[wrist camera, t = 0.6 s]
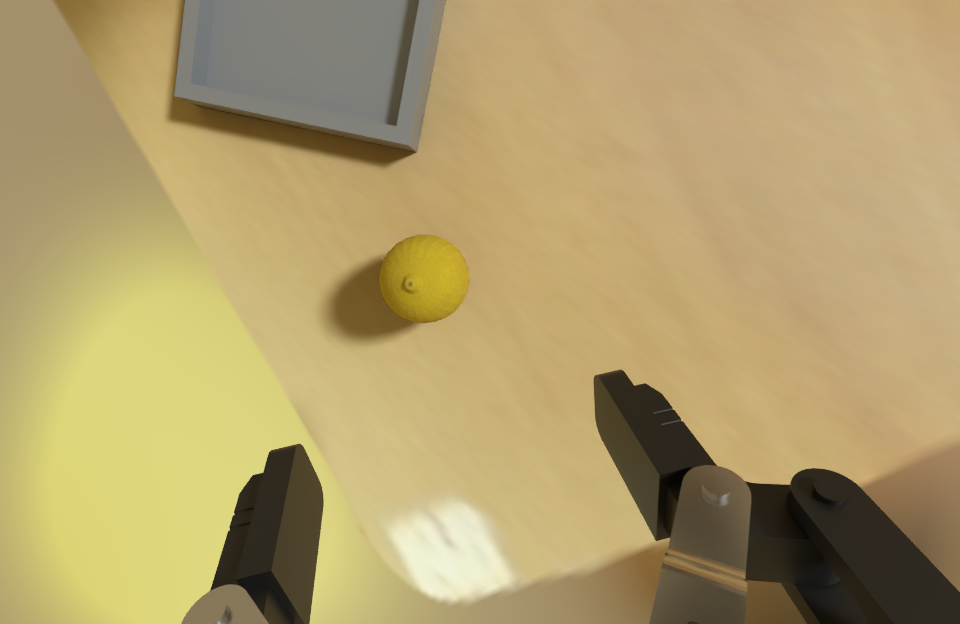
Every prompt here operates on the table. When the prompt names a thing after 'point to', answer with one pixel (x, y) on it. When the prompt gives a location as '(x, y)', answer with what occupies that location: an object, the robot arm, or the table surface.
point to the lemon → (424, 278)
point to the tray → (314, 63)
